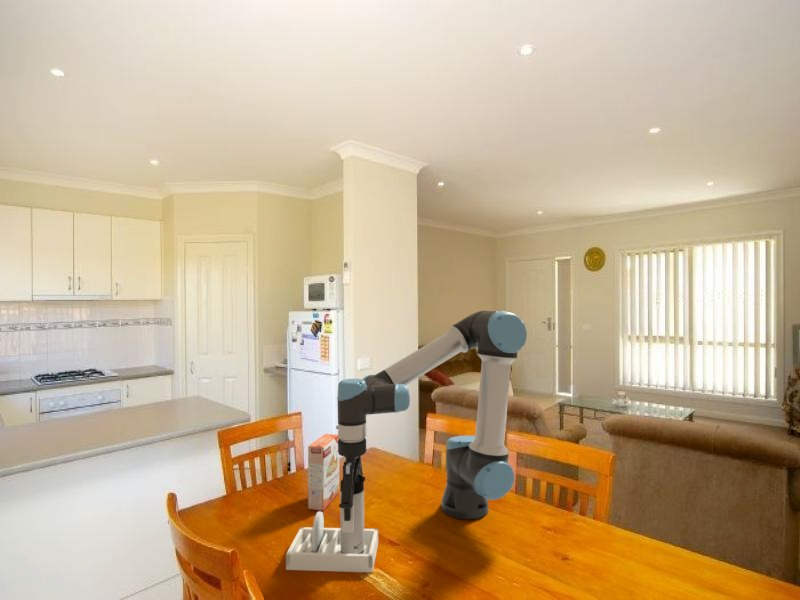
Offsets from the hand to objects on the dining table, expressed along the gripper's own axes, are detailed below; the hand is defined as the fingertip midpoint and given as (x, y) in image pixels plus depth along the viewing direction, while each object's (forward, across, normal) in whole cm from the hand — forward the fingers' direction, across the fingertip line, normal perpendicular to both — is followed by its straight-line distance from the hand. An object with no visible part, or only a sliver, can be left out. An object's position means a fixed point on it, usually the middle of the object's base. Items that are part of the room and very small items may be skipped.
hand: (352, 518), depth 116 cm
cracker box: (+10, -31, -15) cm, 36 cm away
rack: (+10, 0, -5) cm, 11 cm away
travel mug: (+9, 0, 0) cm, 9 cm away
